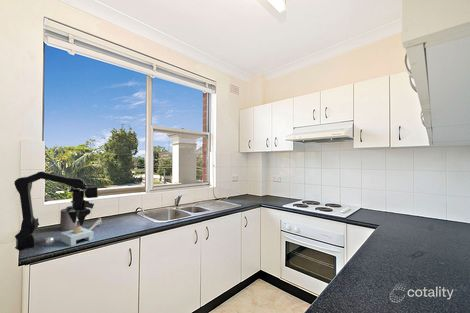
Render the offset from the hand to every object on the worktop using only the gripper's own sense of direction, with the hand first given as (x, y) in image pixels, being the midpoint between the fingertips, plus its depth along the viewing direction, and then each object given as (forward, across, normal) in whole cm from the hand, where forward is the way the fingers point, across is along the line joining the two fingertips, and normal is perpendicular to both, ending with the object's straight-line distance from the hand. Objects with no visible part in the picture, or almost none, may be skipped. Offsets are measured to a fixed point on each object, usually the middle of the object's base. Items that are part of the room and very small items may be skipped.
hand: (77, 224), depth 133 cm
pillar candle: (+10, +30, -7) cm, 32 cm away
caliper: (+10, +14, -16) cm, 23 cm away
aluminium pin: (+10, +5, +12) cm, 17 cm away
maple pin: (+10, 0, 0) cm, 10 cm away
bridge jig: (+10, 0, 0) cm, 10 cm away
